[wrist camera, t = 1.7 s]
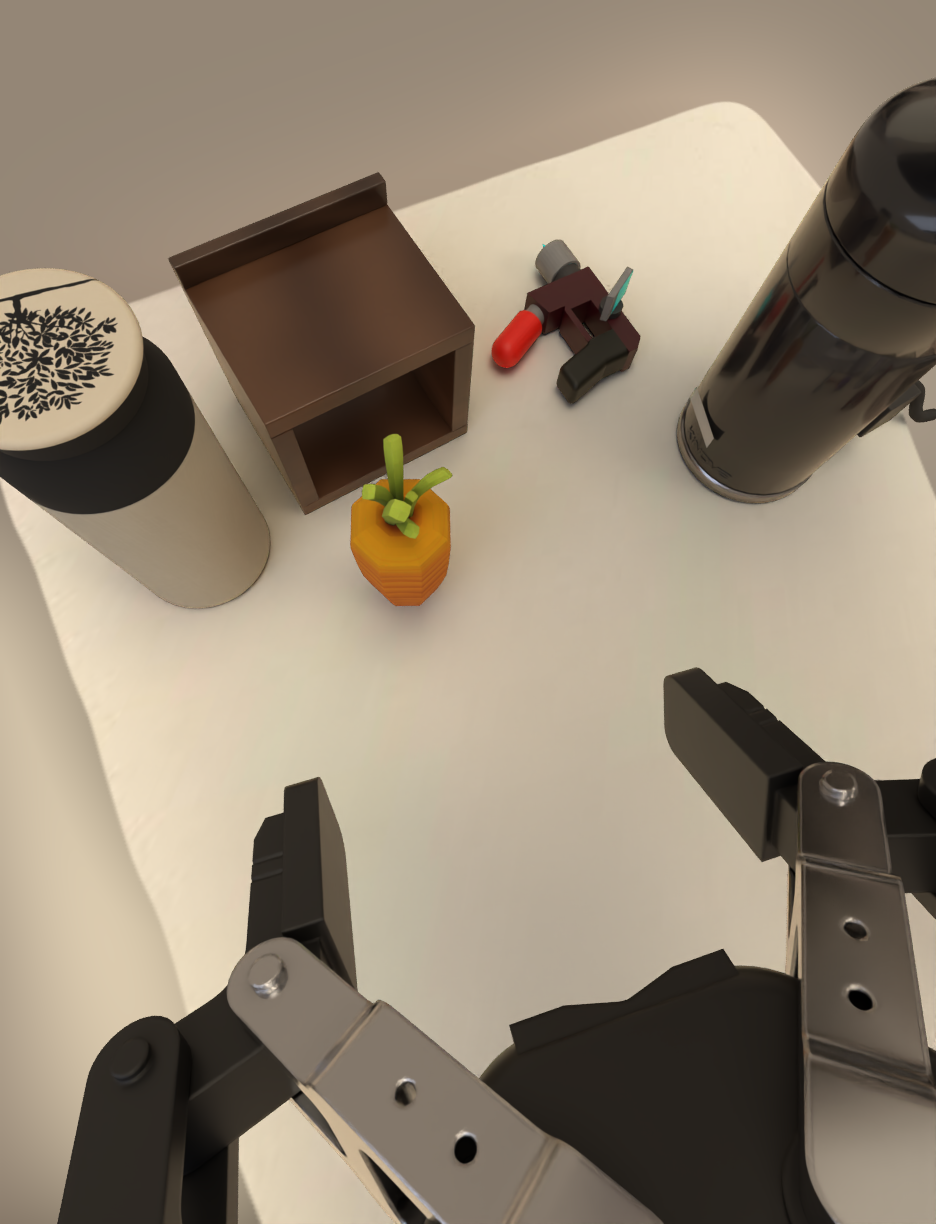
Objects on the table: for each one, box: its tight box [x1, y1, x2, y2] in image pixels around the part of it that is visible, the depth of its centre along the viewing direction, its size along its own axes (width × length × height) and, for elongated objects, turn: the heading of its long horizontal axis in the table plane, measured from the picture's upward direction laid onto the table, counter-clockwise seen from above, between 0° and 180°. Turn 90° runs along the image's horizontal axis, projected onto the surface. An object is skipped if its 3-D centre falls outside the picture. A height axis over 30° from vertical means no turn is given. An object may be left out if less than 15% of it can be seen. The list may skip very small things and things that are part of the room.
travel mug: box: [0, 268, 270, 608], centre depth 31 cm, size 8×8×18 cm
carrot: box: [350, 434, 452, 606], centre depth 32 cm, size 5×5×15 cm
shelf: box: [169, 173, 475, 515], centre depth 37 cm, size 12×10×11 cm
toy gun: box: [492, 240, 640, 403], centre depth 43 cm, size 10×12×5 cm
